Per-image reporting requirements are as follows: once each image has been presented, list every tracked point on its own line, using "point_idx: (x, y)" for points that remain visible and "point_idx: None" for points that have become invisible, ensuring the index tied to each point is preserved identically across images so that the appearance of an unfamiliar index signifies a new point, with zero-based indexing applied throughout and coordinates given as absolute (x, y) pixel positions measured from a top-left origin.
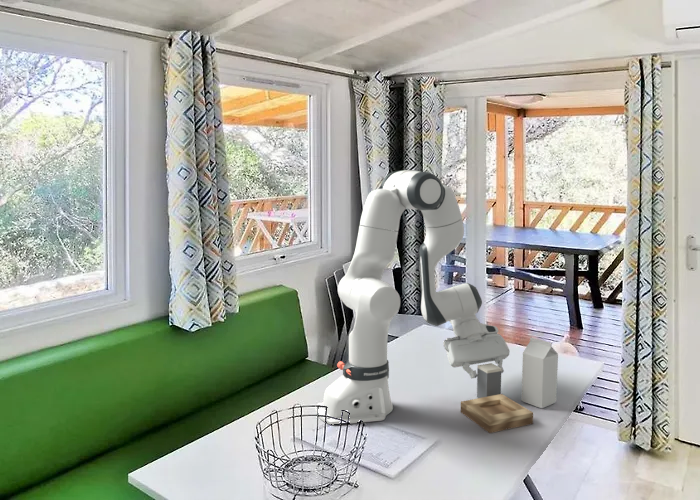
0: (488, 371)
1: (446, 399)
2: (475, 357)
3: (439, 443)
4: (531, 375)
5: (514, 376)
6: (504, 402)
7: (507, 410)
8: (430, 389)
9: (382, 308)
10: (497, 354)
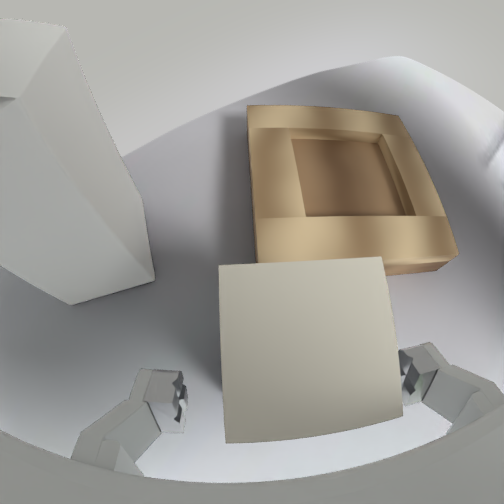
0: (366, 259)
1: None
2: (451, 454)
3: (481, 157)
4: (96, 155)
5: None
6: (299, 186)
7: (303, 167)
8: None
9: None
10: (97, 481)
